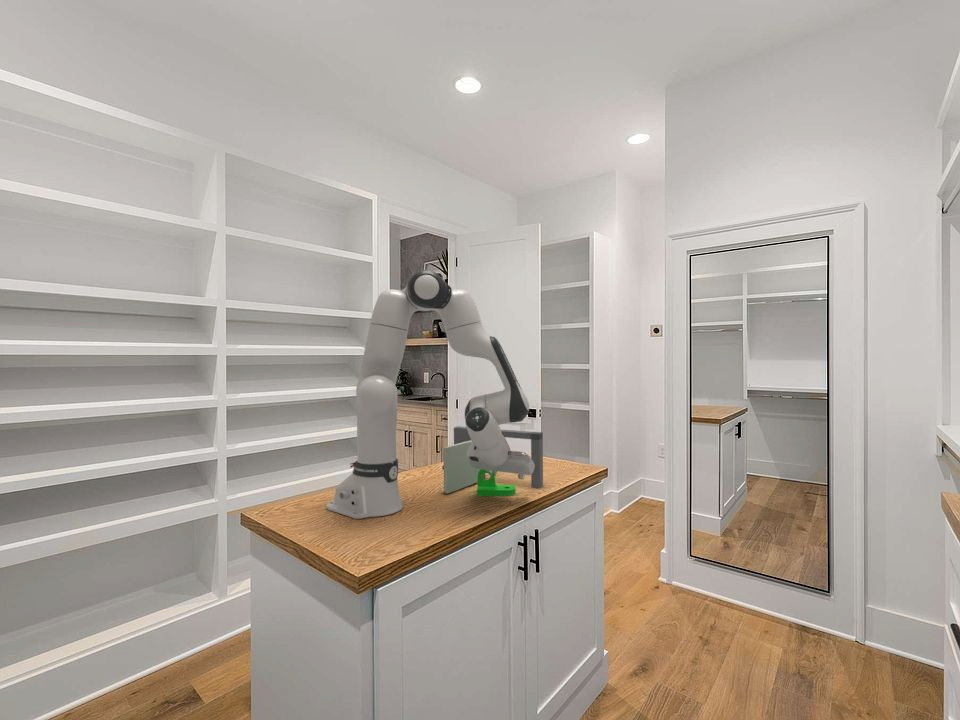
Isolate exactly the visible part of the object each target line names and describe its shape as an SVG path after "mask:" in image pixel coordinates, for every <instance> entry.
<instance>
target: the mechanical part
mask: <svg viewBox="0 0 960 720" xmlns="http://www.w3.org/2000/svg"><path fill="white" fill-rule="evenodd" d="M484 473H485V474H488V475H489V476H490V478H488V479H486V478H485V479H483V477H482V475H483V474H484ZM514 494H515V495H516V485H515V484H497V483H496V476H492V475H491V474H490V473H489V472H487V471H486V470H482V469H480V470H479V472H478V482H477V489H476V497H512V496H511V495H513V496H515V495H514Z"/></svg>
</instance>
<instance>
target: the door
mask: <svg viewBox="0 0 960 720" xmlns="http://www.w3.org/2000/svg"><path fill="white" fill-rule="evenodd" d="M471 442H472V440H470V441H466V442H462V443H458V444H454V443H453V444H451V445H448V446H447V445H446V446H443V448H442V449H443V452H442V454H443V460H442V461H443V465H442V470H443V494H447V495H448V494H450V493H452V492H453V493H454V492H456V491H458V490H461V489H463V488H466V487H469V486H471V485H473V484H478V472H479V470H480V469H475V468H473V467H472V466H471V465H470V463H469V461H468V459H467V457H466V456H467V452H468V449H469V447H470V444H471Z"/></svg>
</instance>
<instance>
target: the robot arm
mask: <svg viewBox="0 0 960 720" xmlns="http://www.w3.org/2000/svg"><path fill="white" fill-rule="evenodd" d="M431 311H434V312H436V313H437V314H439V316H440V318H441V321H442V323H443V328H444V331H445V336H446V339H447V341H448V344H449V346H450V348H451V349H452V350H453V351H454V352H455V353H456V354H457V353H458V354H460V355H461V356H464V357H465V356H466V357H472V358H473V357H474V358H479V359H485V360H487V361H489V362H490V363H492V364H493V366H494V367H495V370H496V372H497V374H498V377H499V378H500V381H501V383H502V385H503V387H504V389H502V390H500V391H496V392H491V393H486V394H482V395H478V396H473V397H472V398H470V399H469V400H468V403H467V404H466V406H465V407H464V420H465V423H464V424H465V427H466V428H467V431H468V434H469V436H470V438H471V440H472V442H471V444H470V447H469V449H468V452H467V456H466V457H467V459H468V461H469V463H470V465H471V466H472V467H473V468H475V469H482V470H486V471H487V472H489V473H490V474H491V475H492V476H495V477H496V476H497V474H498V472H500V473H508V474H509V473H510V474H515V475H516V474H517V479H519V480H524V479H525V476H531V474H532V473H533V471H534V467H535V464H534V462H533V460H532V459H531V455H529V454H528V453H526V452H523V451H516V450H511V447H510V445H509V442H508V441H507V439H506V437H504V436H503V434H502V432H501V430H502V429H501V427H500V425H504V424H509V423H511V424H512V423H520V422H523V421H524V419H526V417H527V416H528V414H529V413H530V404H529V401H528V398H527V395H526V394H525V392H524V391H523V389H522V388H521V385H520V383H519V382H518V381H519V380H518V379H517V377H516V375H515V373H514V370H513V368H512V365H511V363H510V362H509V360H508V357H507V355H506V352H505V351H504V349H503V347H502V345H501V344H500V341H499V340H498V339H497V337H496V336H492V335H490V334H489V333H487V331H486V330H485V328H484V325H483V324H482V320H481V316H480V314H479V311H478V308H477V305H476V302H475V301H474V298H473V297H472V294H471V293H470V292H469V291H467V290H466V289H461V288H456V289H452V287H451V286H450V285H449V284H448V283H447V282H446V280H445V279H444V278H442V277H441V276H440V275H439V274H438V273H437V272H435V271H433V270H429V269H423V270H419V271H417V272H415V273H413V274H412V276H410V278H409V279H408V282H407V285H406V286H405V288H403V289H400V290H398V289H395V288H394V289H393V288H392V289H389V288H388V289H386V290H383V291H381V292H380V293H379V295H378V296H377V299H376V302H375V305H374V308H373V310H372V315H371V317H370V322H369V328H368V332H367V337H366V341H365V342H366V343H365V347H364V352H363V356H362V361H361V365H360V370H359V374H358V379H357V385H356V389H355V395H356V447H357V448H356V450H357V453H356V454H357V455H356V456H357V459H356V461H354V462H351V463H349V465H350V466H349V468H353V470H352V473H351V474H350V475H348V477H346V478H345V479H344V480H342V482H340V483H338V485H337V486H336V488H335V491H334V499H332V500H330V501H329V502H328V503H327V504H326V506H325V509H326V510H329V511H331V512H334V513H337V514H340V515H343V516H347V517H349V518H352V519H355V520H358V519H365V518H375V517H383V516H387V515H388V516H389V515H392V514H396V513H398V512H400V511H401V510H402V509H403V507H404V506H403V502H402V499H401V495H400V489H399V482H398V476H399V475H398V474H399V460H398V458H397V426H398V425H397V424H398V423H397V421H398V390H397V386H396V384H397V380H398V375H399V373H400V369H401V365H402V361H403V358H404V355H405V348H406V343H407V338H408V333H409V327H410V323H411V319H412V317H413V314H421V313H429V312H431Z"/></svg>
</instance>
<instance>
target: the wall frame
mask: <svg viewBox="0 0 960 720" xmlns="http://www.w3.org/2000/svg"><path fill="white" fill-rule="evenodd" d="M501 432H502V434H503V436H504V437H505V438H507V439H509V438H510V439H521V440H522V439H523V440H530V449H531V450H530V458H531V459H532V460H533V462H534V464H535V467H534V471H533V473H532V474H531V475H530V477H531V478H530V481H531V482H530V483H531V488H532V487H533V489H539V488H540V489H542V488H543V487H544V446H543V445H544V439H543V438H544V436H543V432H541V431H529V430H527V431H526V430H513V429H512V430H509V429H501ZM470 440H471V438H470V436H469V434H468V431H467V428H466V426H454V427H453V445H454V444H458V443H462V442H466V441H470ZM482 477H483V479H485V480H486V473H484V474H483V475H482ZM542 486H543V487H542Z"/></svg>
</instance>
